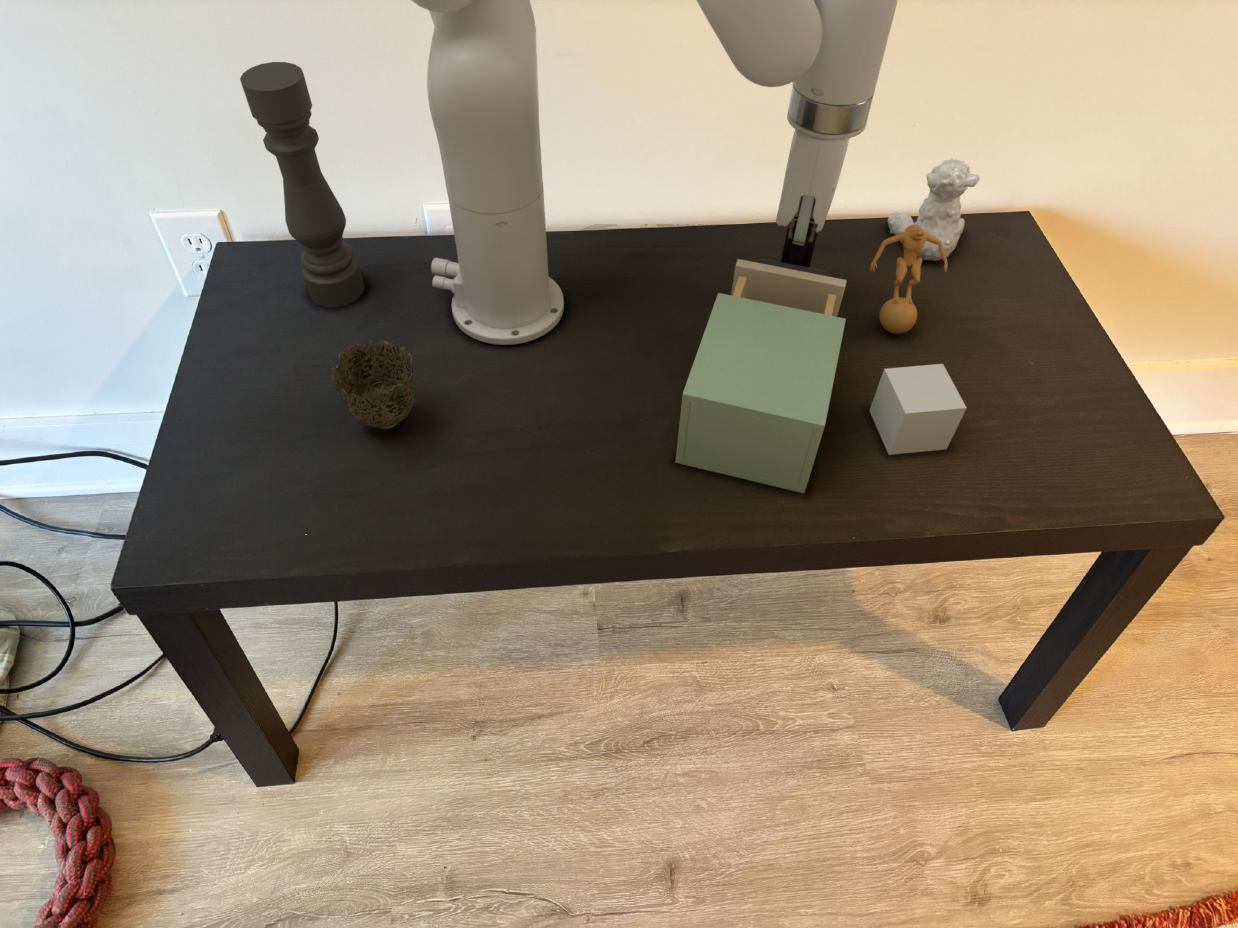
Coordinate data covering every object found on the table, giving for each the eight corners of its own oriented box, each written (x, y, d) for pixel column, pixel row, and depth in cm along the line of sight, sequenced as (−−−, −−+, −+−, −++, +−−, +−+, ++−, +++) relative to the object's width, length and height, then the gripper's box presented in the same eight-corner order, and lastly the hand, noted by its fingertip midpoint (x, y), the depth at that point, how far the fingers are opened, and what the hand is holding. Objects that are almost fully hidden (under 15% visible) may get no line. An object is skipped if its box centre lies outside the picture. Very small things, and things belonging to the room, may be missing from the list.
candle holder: (375, 285, 98) (320, 72, 79) (337, 314, 95) (270, 99, 76) (336, 267, 100) (273, 54, 81) (298, 295, 97) (222, 80, 78)
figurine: (860, 341, 94) (888, 251, 84) (850, 305, 97) (876, 215, 88) (934, 341, 94) (971, 251, 84) (921, 306, 98) (955, 216, 88)
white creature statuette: (960, 228, 107) (994, 140, 98) (972, 270, 102) (1009, 182, 93) (885, 223, 108) (912, 135, 98) (893, 265, 102) (922, 176, 93)
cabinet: (708, 363, 91) (718, 292, 83) (825, 388, 89) (846, 318, 81) (675, 462, 82) (682, 393, 75) (804, 493, 80) (825, 425, 72)
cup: (410, 457, 82) (394, 400, 76) (338, 445, 83) (317, 387, 77) (436, 402, 86) (423, 344, 80) (368, 391, 87) (350, 333, 81)
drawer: (736, 292, 97) (745, 235, 91) (836, 312, 95) (851, 255, 89) (701, 399, 86) (708, 342, 80) (812, 424, 84) (829, 367, 78)
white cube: (924, 405, 87) (943, 363, 83) (946, 449, 84) (967, 407, 79) (868, 410, 87) (884, 368, 82) (888, 455, 83) (905, 413, 78)
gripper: (801, 64, 85) (773, 220, 99) (777, 138, 76) (749, 299, 90) (877, 75, 84) (837, 232, 98) (861, 152, 74) (820, 313, 89)
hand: (795, 264), depth 94 cm, fingers closed
